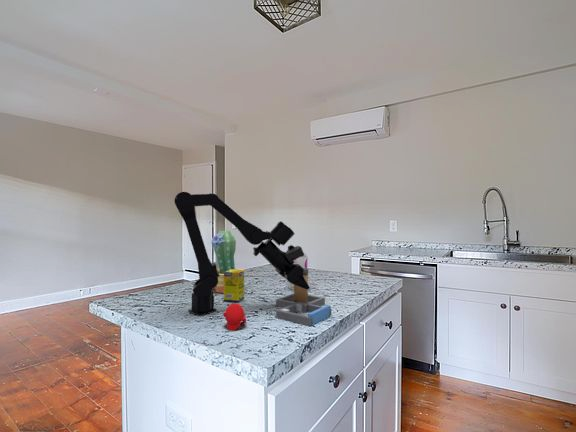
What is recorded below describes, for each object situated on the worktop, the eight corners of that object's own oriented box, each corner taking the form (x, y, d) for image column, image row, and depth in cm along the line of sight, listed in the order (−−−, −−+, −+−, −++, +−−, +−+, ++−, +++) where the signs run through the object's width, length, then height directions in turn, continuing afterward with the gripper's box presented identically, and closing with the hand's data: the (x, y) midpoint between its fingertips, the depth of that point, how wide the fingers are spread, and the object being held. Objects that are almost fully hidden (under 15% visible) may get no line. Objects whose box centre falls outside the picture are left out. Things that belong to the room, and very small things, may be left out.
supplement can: (307, 286, 139) (307, 252, 139) (306, 291, 131) (307, 255, 131) (289, 286, 140) (289, 252, 140) (287, 290, 132) (287, 254, 132)
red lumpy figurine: (224, 310, 93) (218, 304, 88) (243, 303, 94) (238, 297, 89) (230, 336, 89) (224, 332, 84) (250, 329, 90) (245, 324, 84)
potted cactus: (204, 287, 135) (204, 230, 135) (238, 284, 142) (239, 229, 142) (211, 296, 121) (211, 231, 121) (249, 292, 128) (249, 231, 128)
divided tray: (310, 326, 89) (310, 315, 89) (256, 312, 101) (256, 302, 101) (345, 307, 107) (345, 298, 107) (296, 298, 119) (296, 289, 119)
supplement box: (238, 302, 113) (239, 272, 113) (223, 301, 114) (223, 271, 114) (244, 298, 119) (244, 269, 119) (229, 297, 120) (229, 269, 120)
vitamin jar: (302, 307, 107) (303, 270, 107) (290, 305, 110) (290, 269, 110) (310, 304, 111) (311, 268, 111) (298, 302, 114) (299, 267, 114)
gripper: (297, 240, 101) (329, 273, 103) (283, 236, 119) (311, 264, 121) (273, 266, 99) (306, 299, 101) (263, 258, 117) (291, 286, 119)
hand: (304, 285), depth 111 cm, fingers open, 9 cm apart
